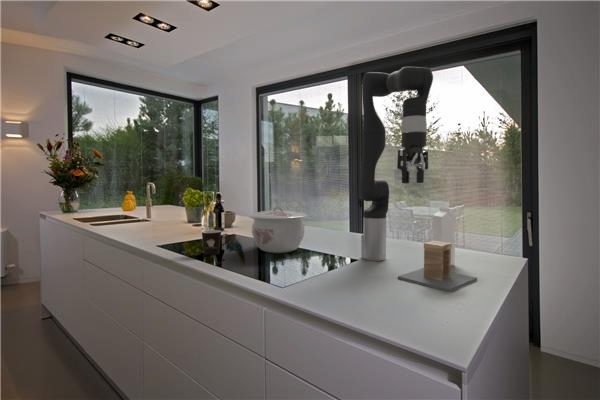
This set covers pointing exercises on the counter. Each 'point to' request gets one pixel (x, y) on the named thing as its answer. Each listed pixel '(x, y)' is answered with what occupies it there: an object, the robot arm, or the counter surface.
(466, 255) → the counter surface
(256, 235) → the chamber pot
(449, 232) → the milk
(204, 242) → the coffee mug
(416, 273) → the mat
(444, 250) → the tan notched block
